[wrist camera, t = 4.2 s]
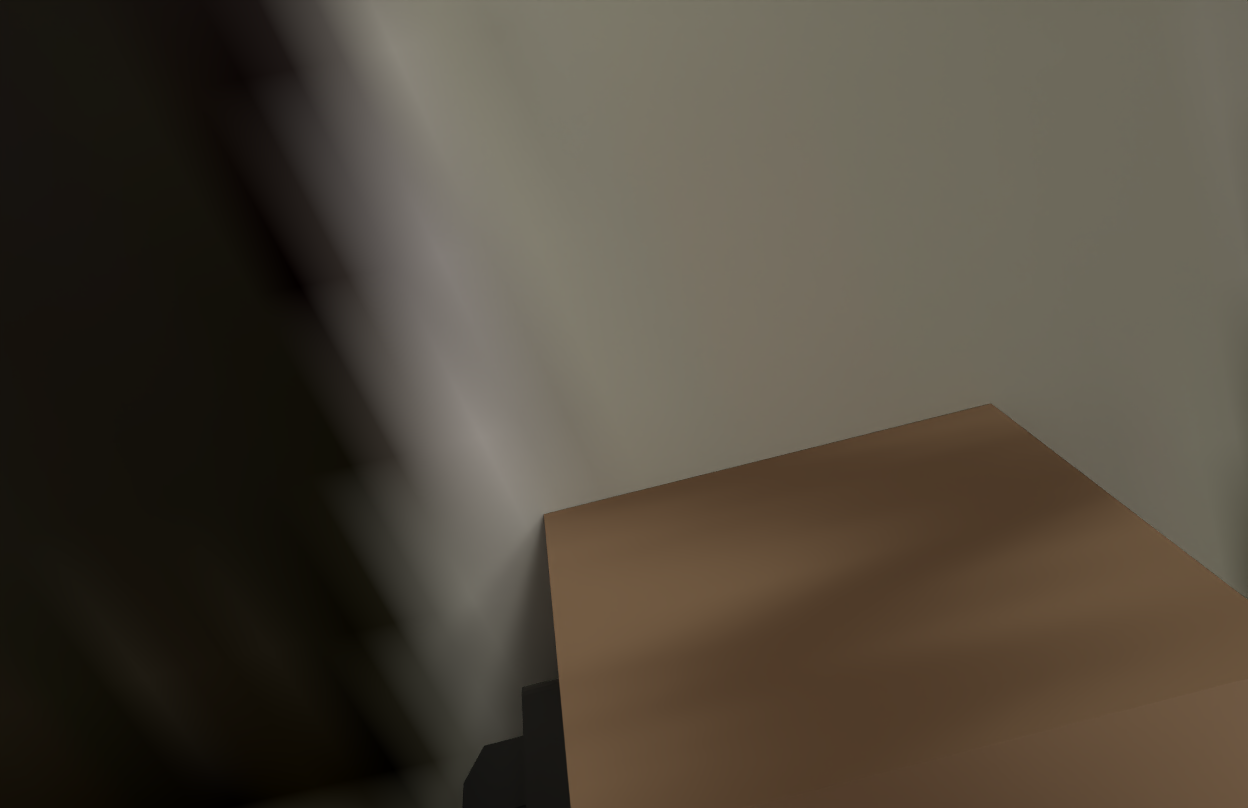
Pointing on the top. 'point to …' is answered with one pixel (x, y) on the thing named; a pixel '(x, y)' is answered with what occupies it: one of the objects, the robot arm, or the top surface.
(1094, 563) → the walnut block
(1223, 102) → the top surface
